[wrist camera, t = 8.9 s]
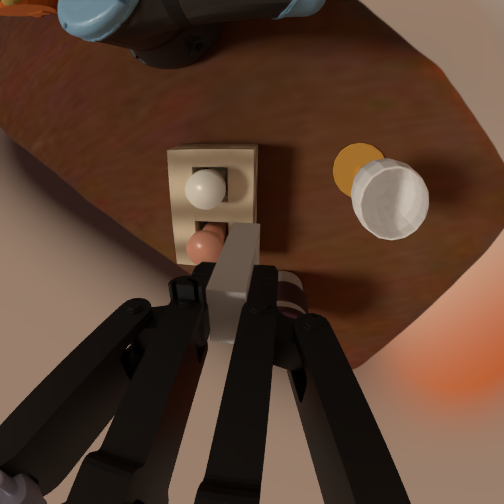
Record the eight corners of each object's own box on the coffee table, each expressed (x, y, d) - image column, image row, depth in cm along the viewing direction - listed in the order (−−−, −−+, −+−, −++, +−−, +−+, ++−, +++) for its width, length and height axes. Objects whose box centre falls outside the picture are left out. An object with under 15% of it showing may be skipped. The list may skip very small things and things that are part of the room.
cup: (344, 207, 45) (370, 255, 31) (323, 155, 42) (343, 180, 28) (394, 187, 42) (438, 226, 28) (376, 134, 39) (420, 150, 25)
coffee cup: (263, 311, 57) (255, 371, 43) (248, 269, 52) (235, 326, 39) (313, 302, 54) (319, 362, 41) (304, 258, 50) (308, 314, 37)
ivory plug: (201, 159, 43) (184, 171, 36) (234, 159, 43) (223, 171, 36) (202, 191, 46) (186, 209, 38) (234, 192, 45) (224, 210, 38)
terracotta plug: (200, 211, 46) (184, 232, 39) (233, 212, 45) (223, 234, 38) (202, 241, 48) (188, 266, 41) (233, 242, 48) (224, 269, 41)
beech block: (181, 144, 43) (167, 150, 38) (258, 144, 42) (254, 149, 37) (187, 246, 52) (177, 263, 46) (255, 250, 50) (252, 269, 45)
